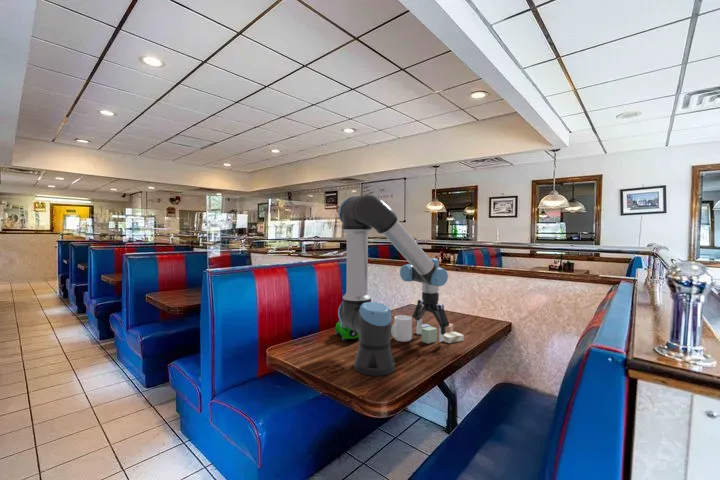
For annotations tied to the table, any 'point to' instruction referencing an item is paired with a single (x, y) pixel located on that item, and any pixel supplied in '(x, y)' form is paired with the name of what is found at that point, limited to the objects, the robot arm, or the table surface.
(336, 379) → the table surface
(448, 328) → the terracotta brick
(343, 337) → the toy car
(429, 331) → the green brick
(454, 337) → the cream brick
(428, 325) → the slate brick
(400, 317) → the mug
